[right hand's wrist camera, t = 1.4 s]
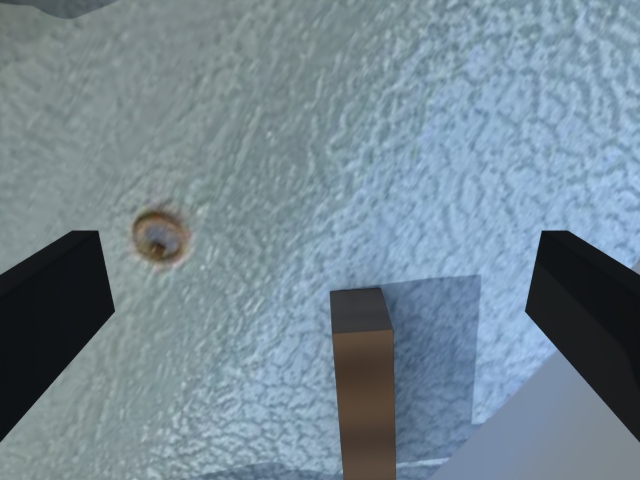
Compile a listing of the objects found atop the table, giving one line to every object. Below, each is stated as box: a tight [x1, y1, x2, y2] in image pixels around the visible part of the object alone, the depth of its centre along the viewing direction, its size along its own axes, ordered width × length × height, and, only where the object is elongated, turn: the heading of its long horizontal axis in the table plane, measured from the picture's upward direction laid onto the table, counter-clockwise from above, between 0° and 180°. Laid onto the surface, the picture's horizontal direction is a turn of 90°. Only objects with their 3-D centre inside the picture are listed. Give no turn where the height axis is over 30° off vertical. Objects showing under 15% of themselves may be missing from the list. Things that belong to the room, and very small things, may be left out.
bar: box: [330, 288, 396, 480], centre depth 45 cm, size 26×6×8 cm, turn 4°
